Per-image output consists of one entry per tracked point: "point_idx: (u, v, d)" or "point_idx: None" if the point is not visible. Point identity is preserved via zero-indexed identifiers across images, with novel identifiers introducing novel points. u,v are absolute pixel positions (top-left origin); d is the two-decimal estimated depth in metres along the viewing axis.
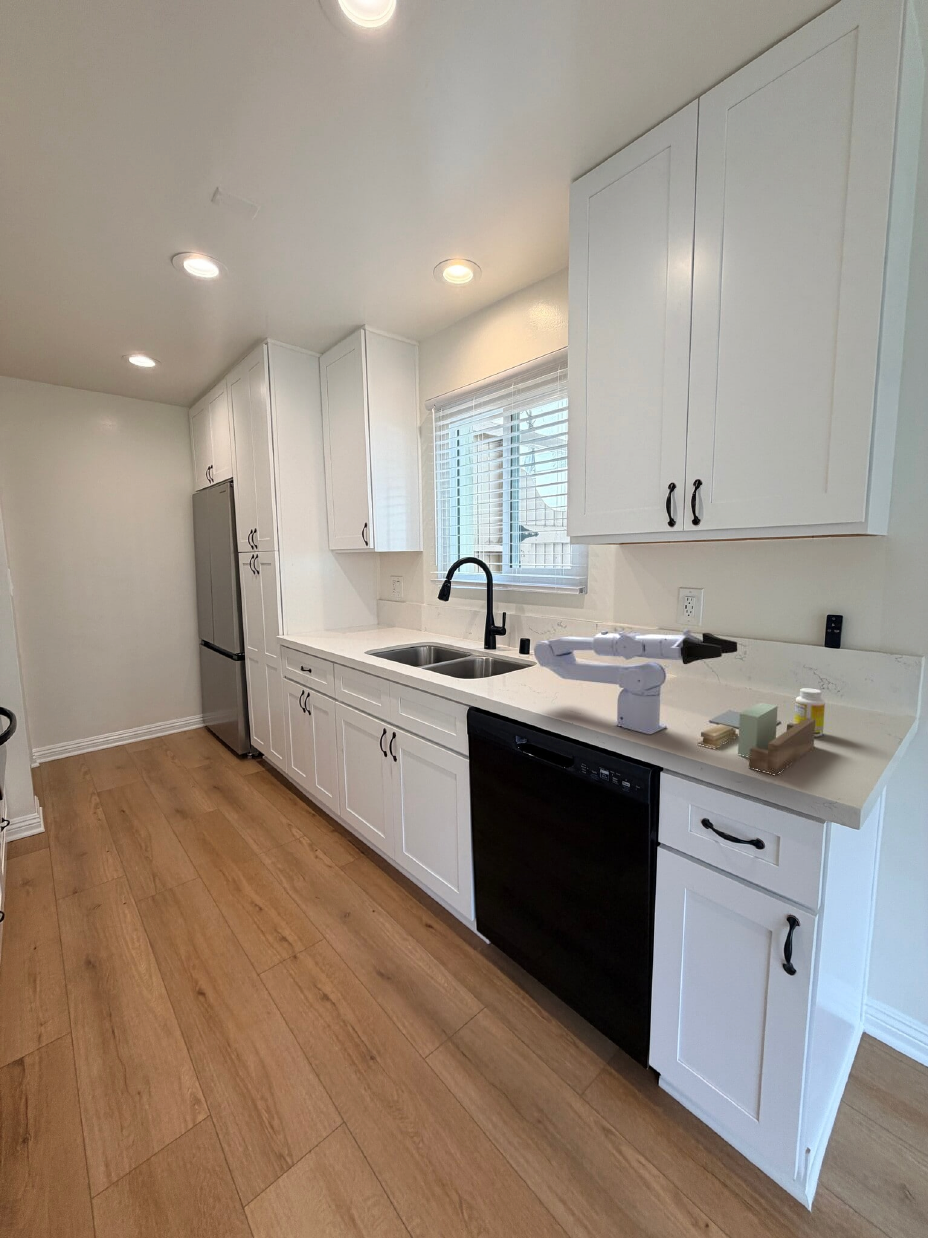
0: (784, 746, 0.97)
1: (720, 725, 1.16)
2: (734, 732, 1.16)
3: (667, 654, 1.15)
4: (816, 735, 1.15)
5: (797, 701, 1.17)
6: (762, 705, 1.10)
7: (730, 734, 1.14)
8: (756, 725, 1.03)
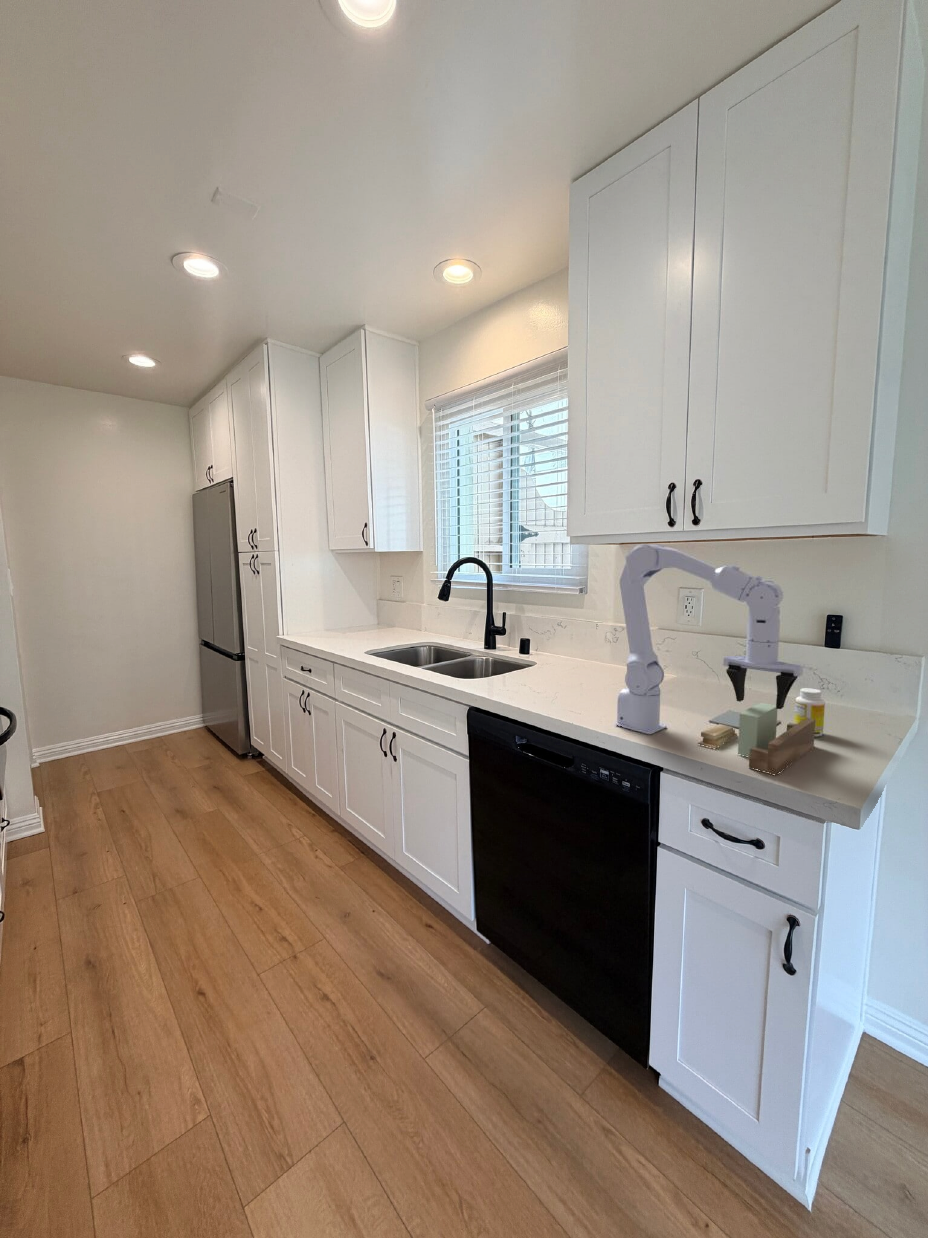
0: (784, 746, 0.97)
1: (719, 725, 1.16)
2: (733, 732, 1.16)
3: (773, 648, 1.03)
4: (816, 735, 1.15)
5: (797, 701, 1.17)
6: (762, 705, 1.10)
7: (730, 734, 1.14)
8: (756, 725, 1.03)
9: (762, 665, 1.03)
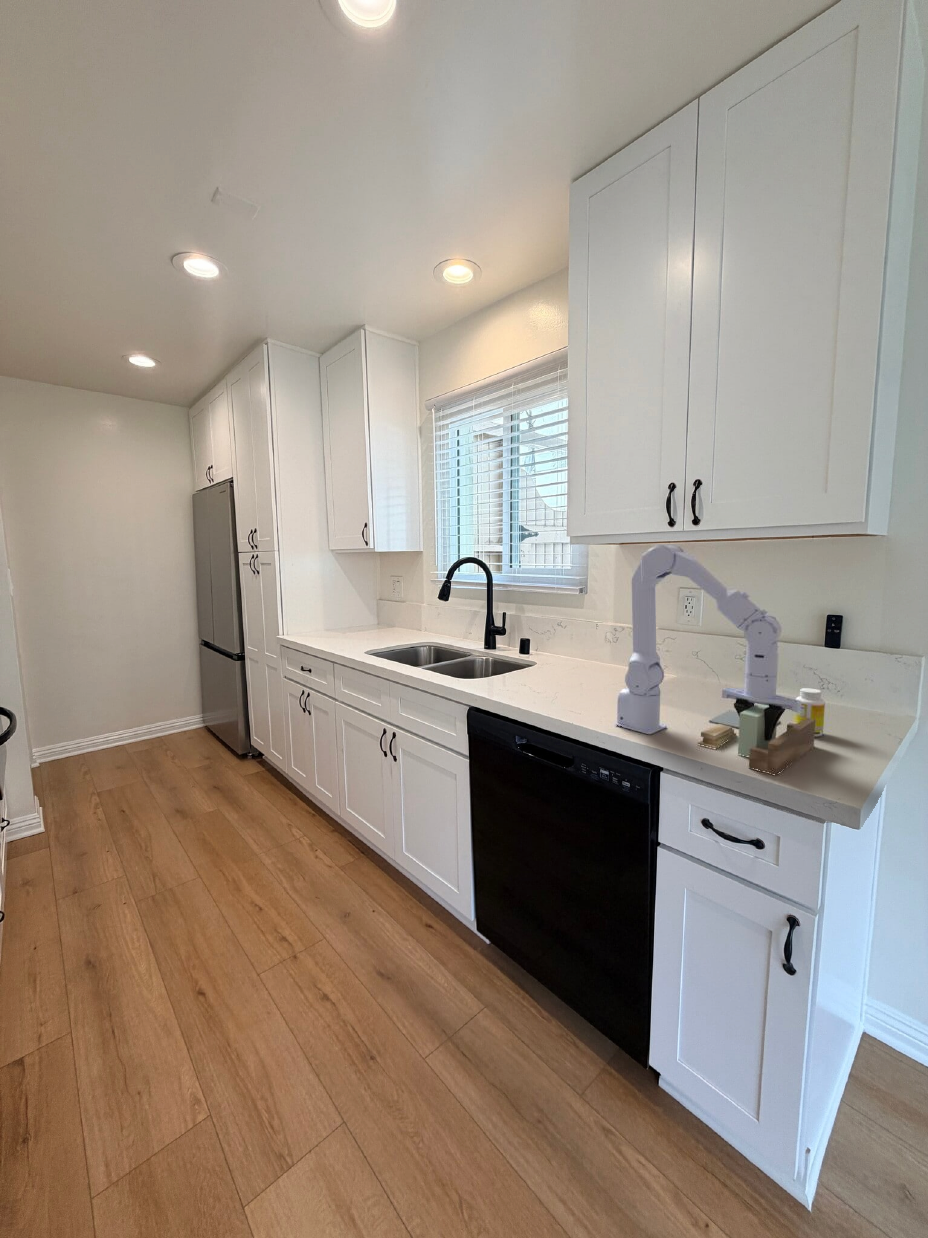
0: (784, 746, 0.97)
1: (719, 725, 1.17)
2: (733, 732, 1.16)
3: (771, 683, 1.03)
4: (816, 735, 1.15)
5: None
6: (762, 705, 1.10)
7: (729, 734, 1.15)
8: (756, 725, 1.03)
9: (760, 699, 1.04)
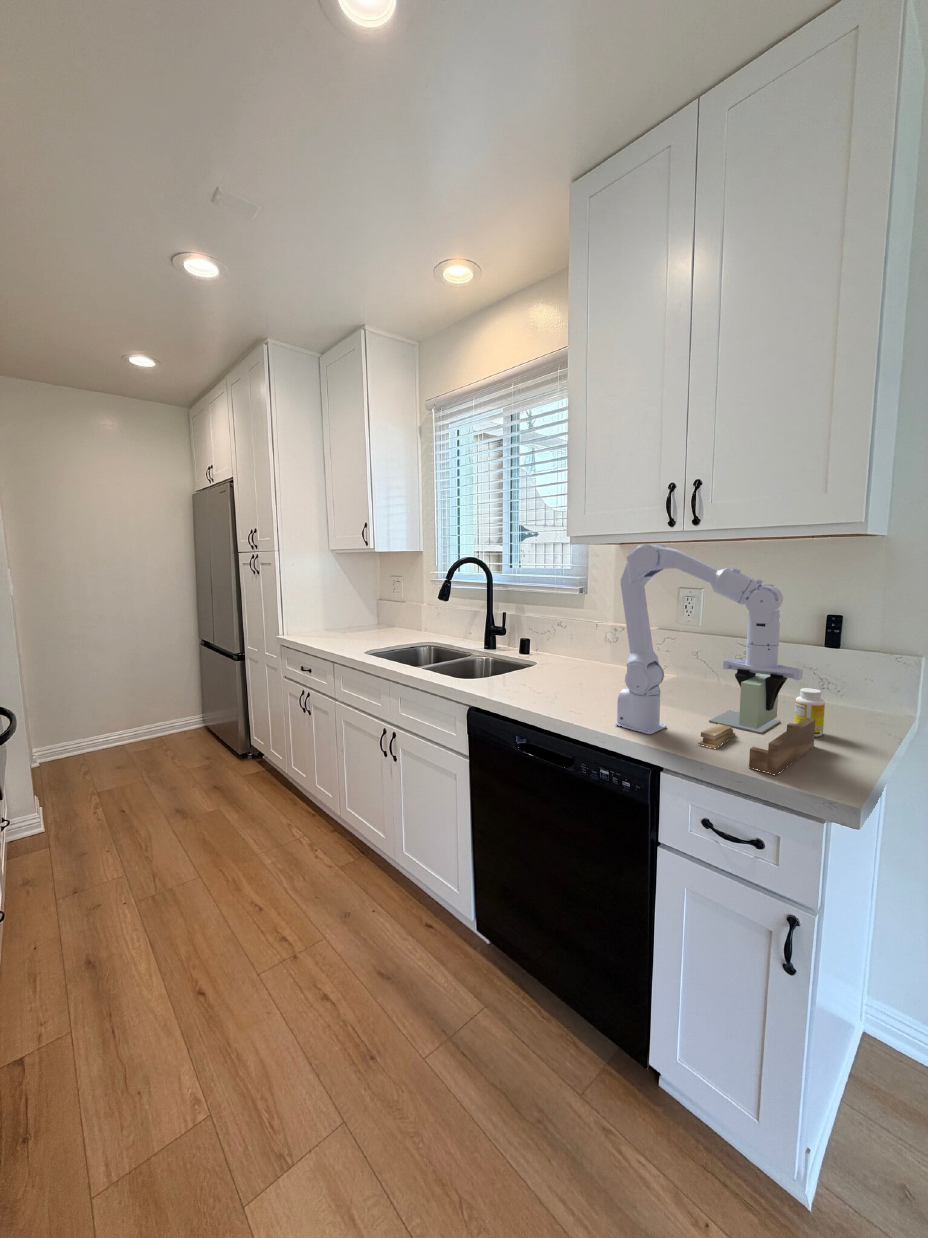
0: (784, 746, 0.97)
1: (718, 725, 1.17)
2: (732, 731, 1.16)
3: (773, 652, 1.03)
4: (816, 735, 1.15)
5: (797, 701, 1.17)
6: (763, 675, 1.09)
7: (728, 734, 1.15)
8: (757, 693, 1.02)
9: (762, 668, 1.03)
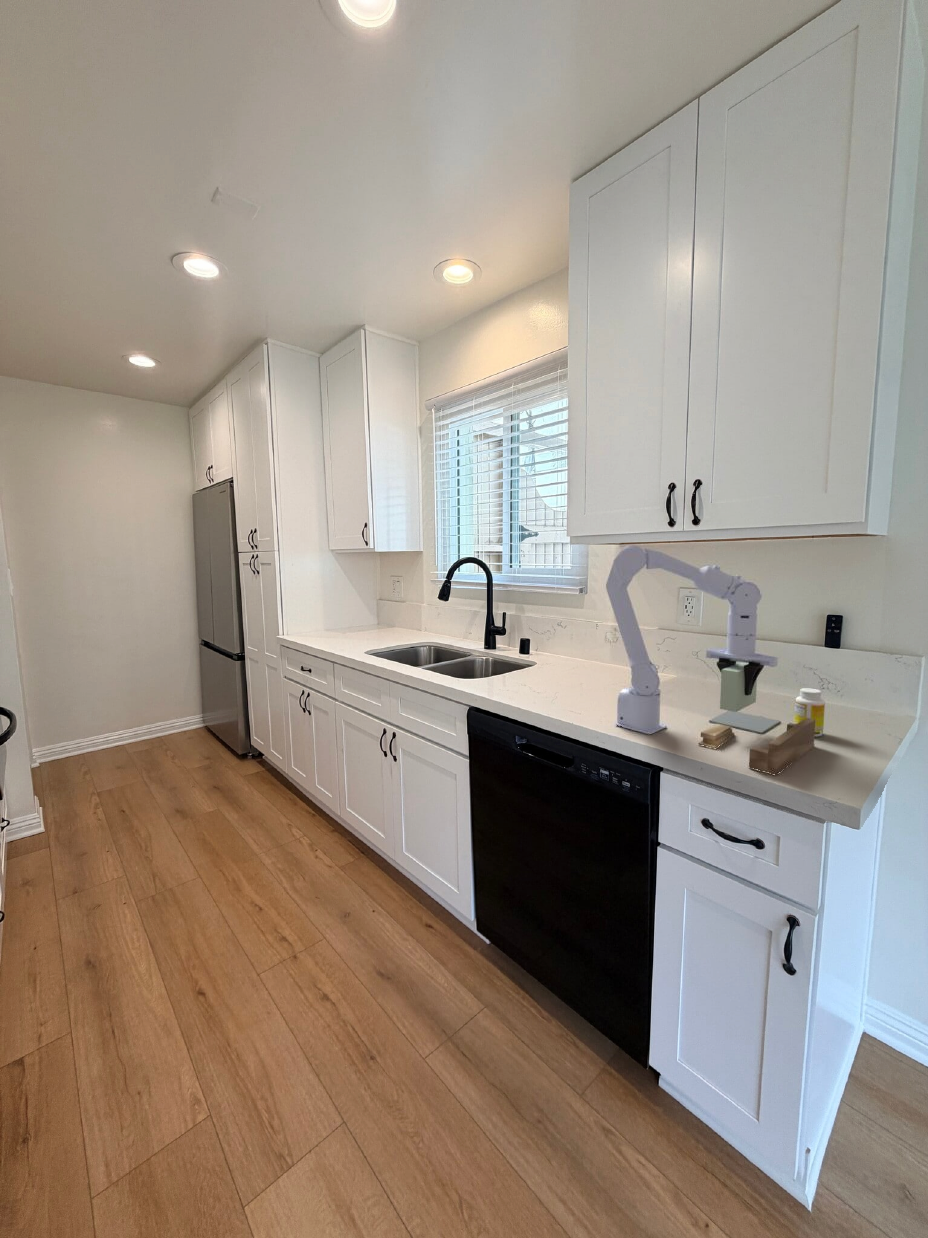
0: (784, 746, 0.97)
1: (717, 725, 1.17)
2: (731, 731, 1.17)
3: (750, 641, 1.12)
4: (816, 735, 1.15)
5: (797, 701, 1.17)
6: (743, 664, 1.18)
7: (728, 733, 1.15)
8: (736, 679, 1.11)
9: (740, 657, 1.12)
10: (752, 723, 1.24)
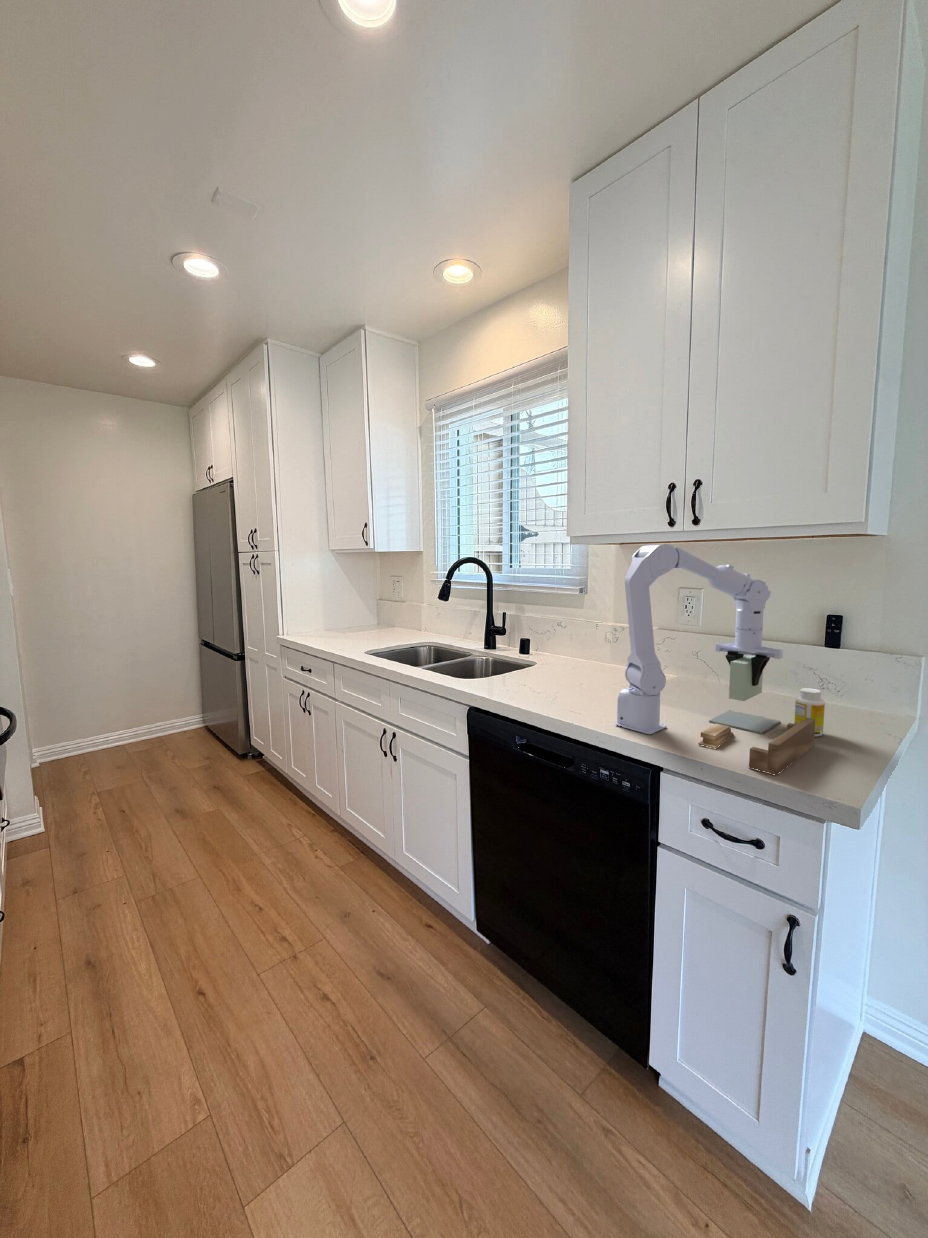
0: (784, 746, 0.97)
1: (716, 724, 1.17)
2: (730, 731, 1.17)
3: (757, 635, 1.20)
4: (816, 735, 1.15)
5: (797, 701, 1.17)
6: (750, 656, 1.27)
7: (727, 733, 1.15)
8: (744, 671, 1.19)
9: (748, 650, 1.21)
10: (752, 723, 1.24)
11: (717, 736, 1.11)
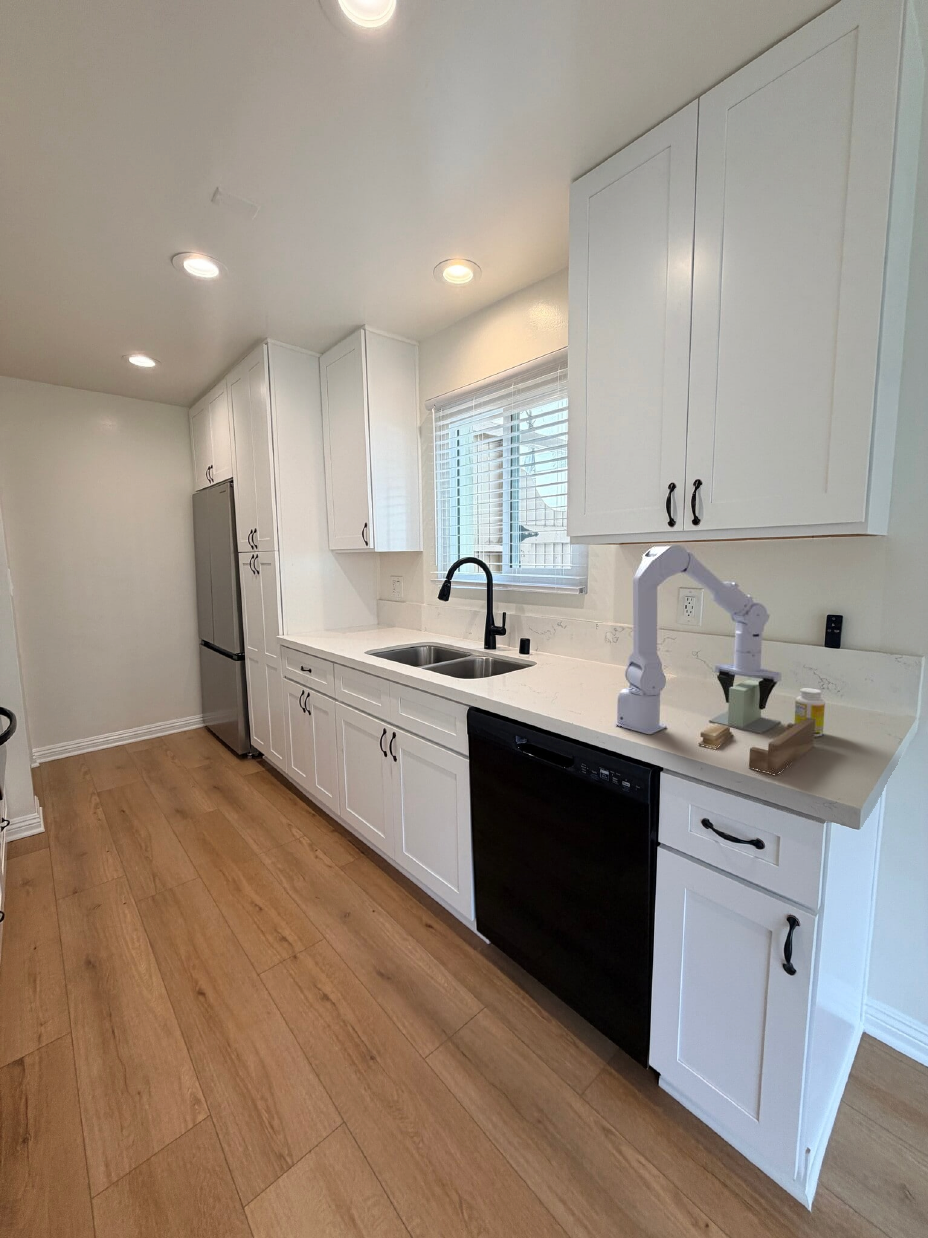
0: (784, 746, 0.97)
1: (715, 724, 1.17)
2: (729, 731, 1.17)
3: (756, 658, 1.21)
4: (816, 735, 1.15)
5: (797, 701, 1.17)
6: (749, 682, 1.27)
7: (726, 733, 1.15)
8: (743, 697, 1.20)
9: (747, 672, 1.22)
10: (752, 723, 1.24)
11: (717, 736, 1.11)
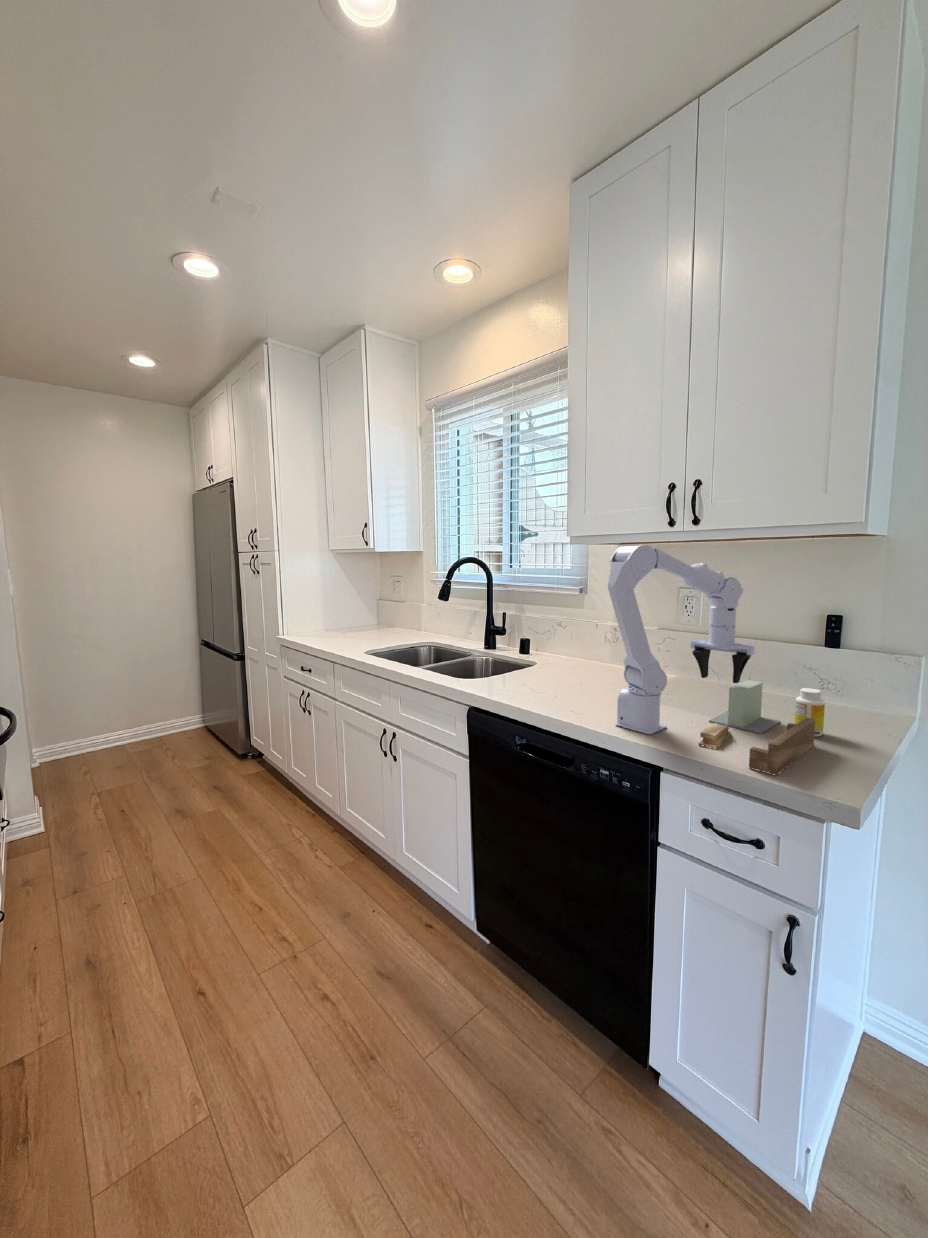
0: (784, 746, 0.97)
1: (714, 724, 1.17)
2: (727, 730, 1.17)
3: (730, 632, 1.22)
4: (816, 735, 1.15)
5: (797, 701, 1.17)
6: (749, 682, 1.27)
7: (725, 733, 1.15)
8: (743, 697, 1.20)
9: (721, 646, 1.23)
10: (752, 723, 1.24)
11: (717, 736, 1.11)
